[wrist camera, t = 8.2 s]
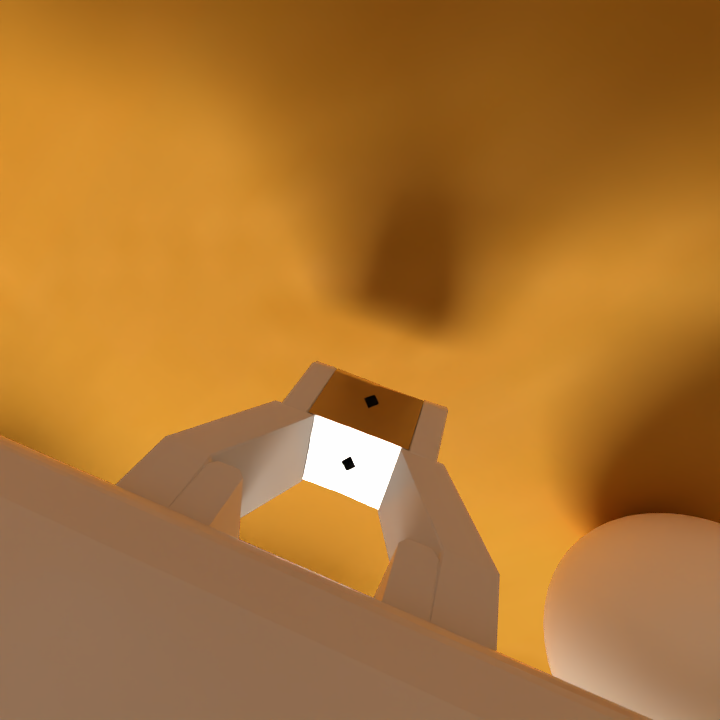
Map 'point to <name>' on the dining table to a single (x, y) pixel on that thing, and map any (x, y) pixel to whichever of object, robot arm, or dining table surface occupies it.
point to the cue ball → (641, 615)
